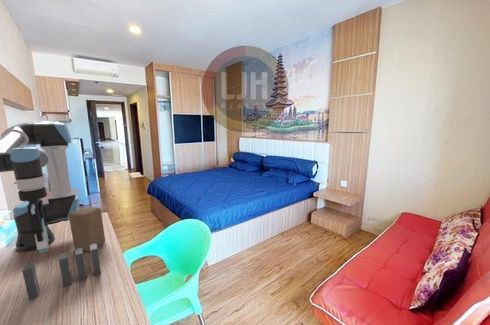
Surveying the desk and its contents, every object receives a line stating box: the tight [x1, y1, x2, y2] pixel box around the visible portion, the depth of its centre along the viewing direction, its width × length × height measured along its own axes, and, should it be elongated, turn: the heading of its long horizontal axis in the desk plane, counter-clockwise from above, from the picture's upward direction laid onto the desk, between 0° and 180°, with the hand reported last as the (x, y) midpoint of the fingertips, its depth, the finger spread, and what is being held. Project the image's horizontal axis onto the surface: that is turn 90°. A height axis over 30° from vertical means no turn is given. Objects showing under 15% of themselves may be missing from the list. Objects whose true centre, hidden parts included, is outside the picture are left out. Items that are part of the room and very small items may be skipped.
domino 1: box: [22, 261, 40, 301], centre depth 82 cm, size 5×2×12 cm, turn 38°
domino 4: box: [74, 248, 88, 282], centre depth 91 cm, size 5×2×12 cm, turn 38°
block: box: [68, 206, 106, 253], centre depth 112 cm, size 10×10×20 cm
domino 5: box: [90, 244, 102, 277], centre depth 94 cm, size 5×2×12 cm, turn 38°
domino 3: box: [58, 251, 73, 288], centre depth 88 cm, size 5×2×12 cm, turn 38°
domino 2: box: [38, 218, 49, 254], centre depth 85 cm, size 5×2×12 cm, turn 38°
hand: (43, 245), depth 86 cm, fingers closed on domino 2, 5 cm apart
